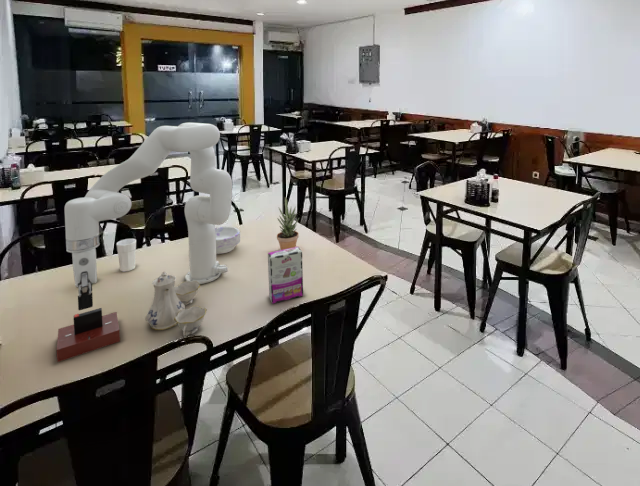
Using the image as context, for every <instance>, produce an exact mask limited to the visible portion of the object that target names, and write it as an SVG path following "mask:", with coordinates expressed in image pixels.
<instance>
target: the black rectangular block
mask: <svg viewBox="0 0 640 486" xmlns="http://www.w3.org/2000/svg"><path fill="white" fill-rule="evenodd" d="M102 316H103V309H102V307H99V308H96V309H91V310H88V311H85V312H81V313H76V314H74V315H73V325H74V334H75V335H76V334H79V333H83V332H86V331H89V330H92V329H96V328H99V327H102V326H103V322H102Z"/></svg>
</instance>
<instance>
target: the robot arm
mask: <svg viewBox="0 0 640 486" xmlns="http://www.w3.org/2000/svg"><path fill="white" fill-rule="evenodd" d="M220 138H221V132H220V130H219V128H218V127H217V126H216V125H215V124H212V123H202V122H183V123H180V124H178V125H160V126H158V127H156V128H154V129H153V130H152V132H151V133H150V134H149V135H148V136H147V138H146V139H145V140H143V142H142V143H141V144H140V145H139V146H138V148H137V149H136V150H135V151H134V153H132V155H131V156H130V157H129V158H128V159H126V160H125V161H122V162H120V163H119V164H118V165H116V166H115V167H113V168H111V169H110V170H108V171H107V172H105V173H104V174H103V175H102V176H100V178H99V179H97V181H96V182H94V184H93V185H92V186H91V188H90V189H89V190H88V191H87V192H86V194H85V196H84V197H77V198H73V199H70V200H68V201H67V202H66V203H65V205H64V227H65V229H64V231H65V249H66V252H67V253H70V254H71V257H72V259H71V260H72V271H73V272H72V273H73V279H74V285H75V288H77V291H78V292H77V293H78V295H77V310H78V311H82V310H83V311H84V310H87V309H90V308H93V307H94V300H93V299H94V298H93V284H96V283H97V282H98V270H97V269H98V267H97V249H96V248H98V247H99V246H100V244H101V243H100V242H101V241H100V222H103V221H109V220H115V219H119V218H122V217H125V215H127V214H128V213H129V212H130V210H131V208H132V205H133V204H132V199H131V198H130V197H129V196H128V195H127V194H125V193H121V192H119V191H120V190H121V189H122V188H124V187H125V186H127V185H128V184H130V183H132V182H134V181H136V180H140V179H144V178H146V177H149V176H151V175H153V174H154V173H155V172H156V171H157V170H158V168H159V167H160V166H161V165H162V164H163V162H164V161H165V160H166V159H167V157H168V156H169V155H170V154H171V152H175V153H189V155H190V175H189V186H190V189H191V190H192V191H194V192H196V193H200V194H207V195H199V194H198V195H194V196H192V197H190V198H189V199H188V200H187V201H186V203H185V205H184V209H183V211H184V217H185V221H186V226H187V231H188V232H187V234H188V235H187V236H188V237H187V239H188V258H189V259H188V263H189V271H188V272H187V273H186V274H185V276H184V280H185V282H192V281H197V282H198V283H199V285H203V284H208V283H210V282H213V281H215V280H216V279H219V277H220V276H221V274H222V273H228V272H229V266H227V264H220V261H219V260H217V254H216V231H215V228H216V226H219V225H220V226H221V225H224V224H225V223H226V222H227V221H228V220H229V218H230V216H231V211H232V201H233V200H232V197H233V180H232V176H231V175H230V173H229V172H228V171H226V170H225V169H219V168H216V151H215V149H214V146H216V145H217V144H218V142H219V141H220ZM208 195H209V196H208ZM92 283H93V284H92Z"/></svg>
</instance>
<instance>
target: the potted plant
mask: <svg viewBox="0 0 640 486" xmlns="http://www.w3.org/2000/svg"><path fill="white" fill-rule="evenodd" d="M284 208H285V210H284V213H283V211H282V210H281V208H280V207H278V210H279V213H280V214H281V216H280V215H279V216H278V217H277V221H278V223H279V224H280V226H279V228H280V232H278V233H277V234H276V240H277V241H278V244H279V247H280V250H284V249H289V248H294V247H297V242H298V238H299V237H300V236H299V234H300V233H299V232H298V231H297V228H296V227H297V226H298V221H299V219H300V217H298V218H297V219H296V216H297V213H296V207H294V208H293V209H292V207H290V208H289V205H288V199H287V197H284ZM295 219H296V221H295ZM294 221H295V222H294Z"/></svg>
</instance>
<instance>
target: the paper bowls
mask: <svg viewBox="0 0 640 486" xmlns="http://www.w3.org/2000/svg"><path fill="white" fill-rule="evenodd" d="M215 231H216V255H221V254H227V253H230V252H232V251H233V250H234V249H235V248H236V246H238V245H239V244H240V243H241V229H239V228H238V227H235V226H219V227H218V226H217V227H215Z"/></svg>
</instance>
